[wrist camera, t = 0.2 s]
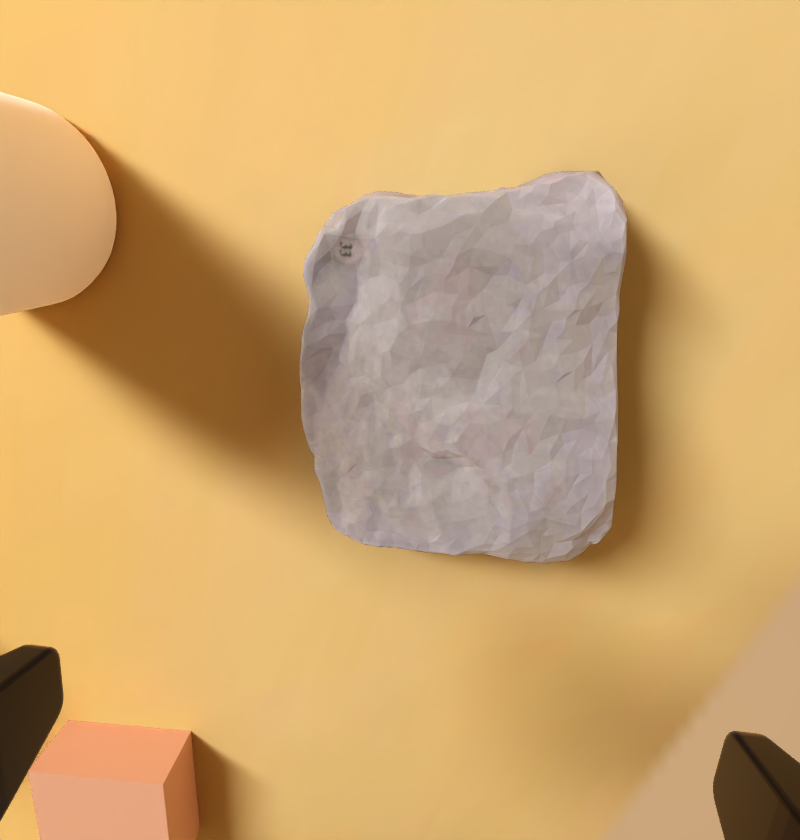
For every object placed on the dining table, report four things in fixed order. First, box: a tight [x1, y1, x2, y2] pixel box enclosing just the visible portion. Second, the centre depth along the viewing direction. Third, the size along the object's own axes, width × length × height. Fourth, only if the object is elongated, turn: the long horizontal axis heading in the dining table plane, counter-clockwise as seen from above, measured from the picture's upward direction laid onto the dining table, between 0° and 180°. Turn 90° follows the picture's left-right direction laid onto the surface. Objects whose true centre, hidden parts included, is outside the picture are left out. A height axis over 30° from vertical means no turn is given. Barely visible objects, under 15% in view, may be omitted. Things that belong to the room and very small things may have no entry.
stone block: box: [299, 171, 627, 563], centre depth 21 cm, size 12×5×10 cm
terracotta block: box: [28, 720, 200, 840], centre depth 27 cm, size 6×6×3 cm
